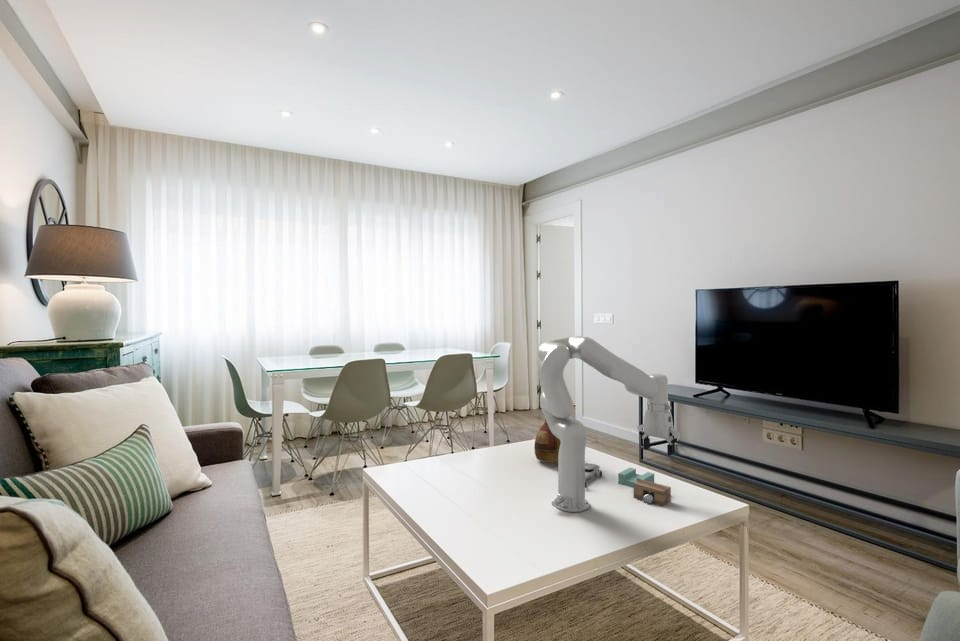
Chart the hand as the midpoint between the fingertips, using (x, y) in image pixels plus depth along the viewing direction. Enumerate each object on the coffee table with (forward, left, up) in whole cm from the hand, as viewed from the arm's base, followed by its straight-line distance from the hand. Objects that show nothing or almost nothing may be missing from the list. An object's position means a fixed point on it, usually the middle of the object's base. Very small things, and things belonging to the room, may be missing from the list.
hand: (658, 451), depth 179 cm
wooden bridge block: (-5, 0, -17) cm, 18 cm away
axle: (-2, +1, -17) cm, 18 cm away
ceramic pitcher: (+7, +52, -17) cm, 56 cm away
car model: (-3, +31, -18) cm, 36 cm away
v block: (+7, +12, -17) cm, 22 cm away
